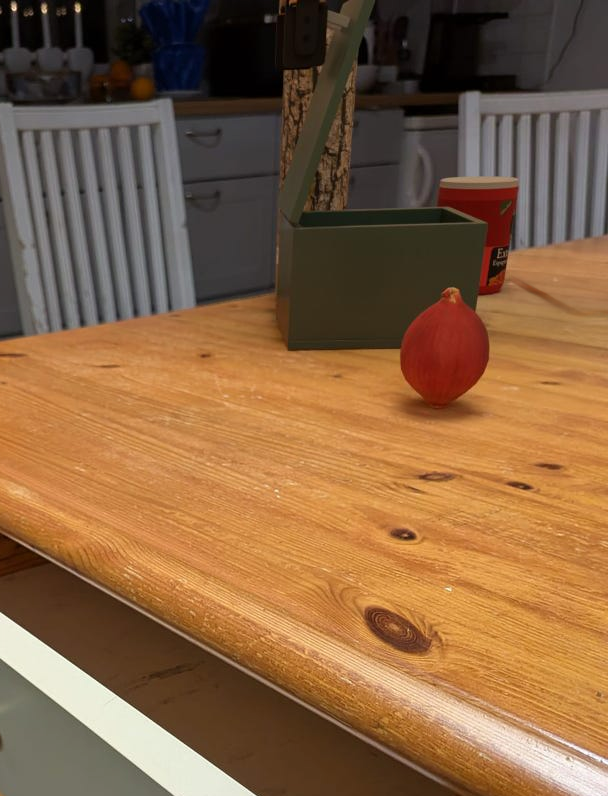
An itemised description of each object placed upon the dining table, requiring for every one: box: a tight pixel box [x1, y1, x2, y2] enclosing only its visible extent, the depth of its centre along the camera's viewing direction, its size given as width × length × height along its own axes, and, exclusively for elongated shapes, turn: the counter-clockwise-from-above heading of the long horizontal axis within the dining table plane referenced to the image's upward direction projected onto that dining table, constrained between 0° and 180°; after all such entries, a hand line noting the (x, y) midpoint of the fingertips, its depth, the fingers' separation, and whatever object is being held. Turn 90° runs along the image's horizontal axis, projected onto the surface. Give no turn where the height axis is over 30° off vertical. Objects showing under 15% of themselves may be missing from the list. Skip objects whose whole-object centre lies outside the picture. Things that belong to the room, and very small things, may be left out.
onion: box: [399, 288, 490, 409], centre depth 65 cm, size 6×6×8 cm
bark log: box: [274, 28, 359, 303], centre depth 95 cm, size 7×7×25 cm
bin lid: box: [276, 0, 376, 224], centre depth 80 cm, size 16×14×5 cm
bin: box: [275, 206, 488, 351], centre depth 86 cm, size 16×14×10 cm
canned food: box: [436, 175, 520, 296], centre depth 103 cm, size 8×8×11 cm
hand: (298, 66), depth 78 cm, fingers open, 7 cm apart
